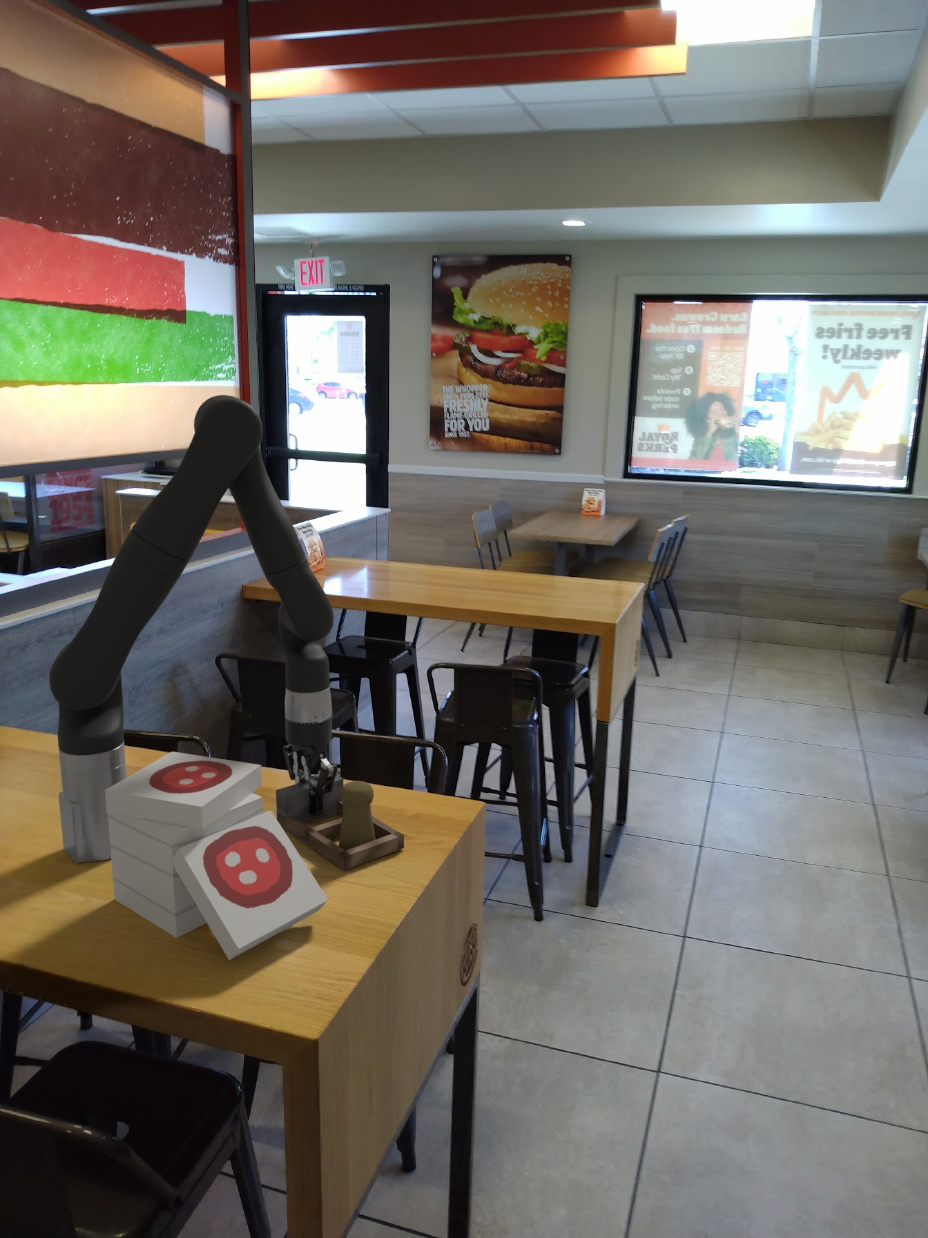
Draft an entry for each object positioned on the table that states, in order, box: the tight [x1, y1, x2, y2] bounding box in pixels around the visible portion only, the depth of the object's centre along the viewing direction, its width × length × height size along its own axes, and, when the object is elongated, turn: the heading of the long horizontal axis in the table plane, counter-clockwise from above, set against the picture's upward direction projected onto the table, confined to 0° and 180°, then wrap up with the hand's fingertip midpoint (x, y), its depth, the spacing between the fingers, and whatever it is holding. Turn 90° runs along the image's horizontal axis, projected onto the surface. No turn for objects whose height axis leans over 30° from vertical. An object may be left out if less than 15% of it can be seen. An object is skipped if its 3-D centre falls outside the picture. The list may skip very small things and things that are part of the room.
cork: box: [338, 780, 376, 850], centre depth 144 cm, size 6×6×11 cm
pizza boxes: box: [105, 751, 329, 961], centre depth 126 cm, size 19×30×18 cm, turn 51°
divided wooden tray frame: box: [275, 774, 405, 871], centre depth 148 cm, size 11×20×6 cm, turn 41°
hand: (310, 810), depth 155 cm, fingers closed on divided wooden tray frame, 3 cm apart
